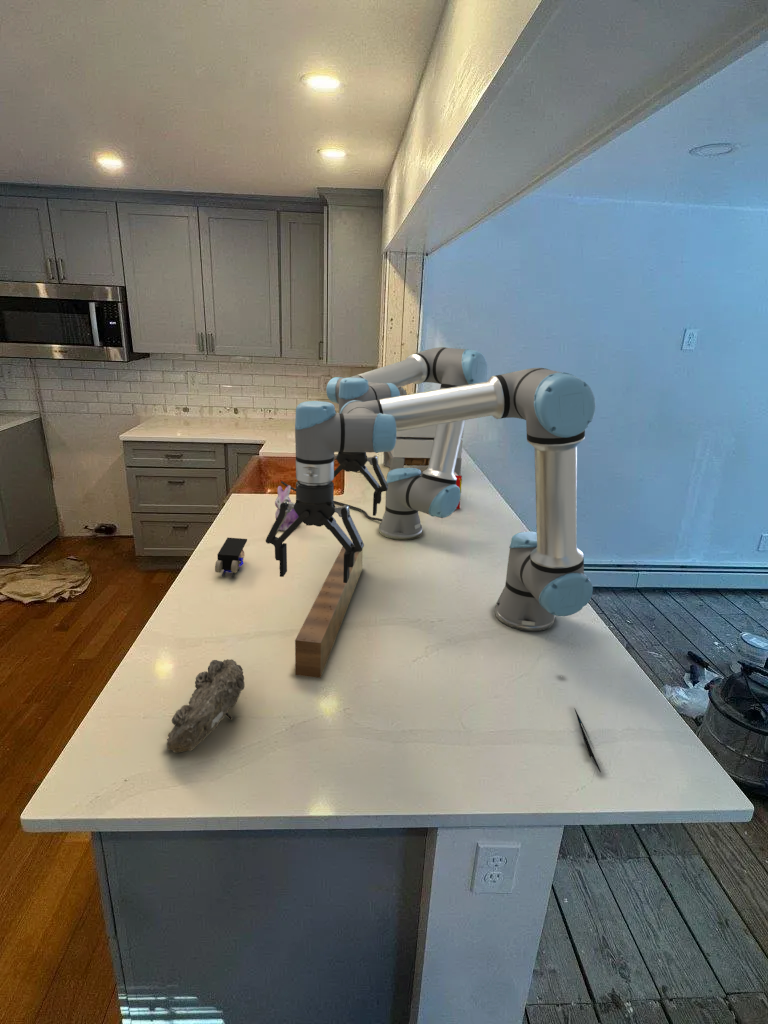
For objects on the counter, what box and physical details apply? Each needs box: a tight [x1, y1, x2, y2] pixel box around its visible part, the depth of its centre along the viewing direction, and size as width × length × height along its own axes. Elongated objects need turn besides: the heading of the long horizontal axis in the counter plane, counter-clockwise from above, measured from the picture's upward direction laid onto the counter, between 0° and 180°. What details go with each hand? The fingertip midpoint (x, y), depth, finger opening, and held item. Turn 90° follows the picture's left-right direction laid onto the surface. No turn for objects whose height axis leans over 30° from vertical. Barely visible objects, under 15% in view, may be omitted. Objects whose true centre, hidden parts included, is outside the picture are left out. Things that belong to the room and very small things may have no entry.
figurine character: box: [214, 537, 248, 578], centre depth 166 cm, size 7×8×15 cm
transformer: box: [383, 386, 465, 476], centre depth 268 cm, size 34×33×41 cm
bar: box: [294, 546, 364, 679], centre depth 145 cm, size 54×6×9 cm, turn 173°
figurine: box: [274, 484, 299, 532], centre depth 199 cm, size 9×10×15 cm
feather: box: [561, 676, 602, 773], centre depth 111 cm, size 2×28×2 cm
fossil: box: [166, 658, 245, 754], centre depth 106 cm, size 22×10×15 cm
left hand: (350, 512), depth 159 cm, fingers open, 13 cm apart
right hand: (314, 577), depth 120 cm, fingers open, 13 cm apart
